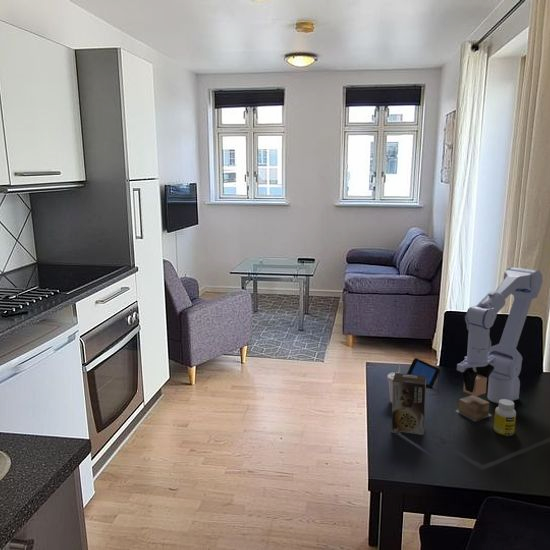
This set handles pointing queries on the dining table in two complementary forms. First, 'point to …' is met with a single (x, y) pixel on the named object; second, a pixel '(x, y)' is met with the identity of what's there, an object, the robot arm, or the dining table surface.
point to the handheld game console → (424, 371)
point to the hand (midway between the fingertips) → (475, 389)
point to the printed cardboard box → (408, 403)
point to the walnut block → (473, 407)
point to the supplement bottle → (505, 418)
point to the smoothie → (391, 383)
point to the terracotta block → (478, 386)
